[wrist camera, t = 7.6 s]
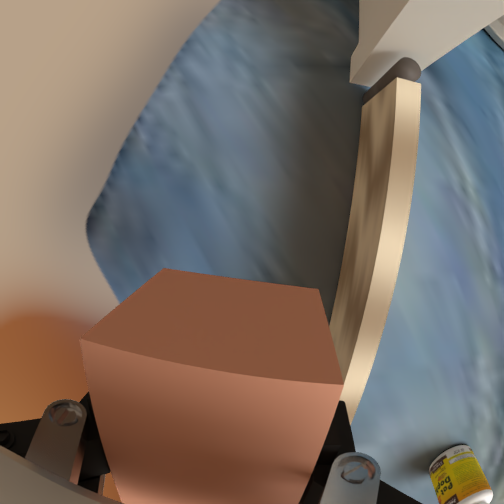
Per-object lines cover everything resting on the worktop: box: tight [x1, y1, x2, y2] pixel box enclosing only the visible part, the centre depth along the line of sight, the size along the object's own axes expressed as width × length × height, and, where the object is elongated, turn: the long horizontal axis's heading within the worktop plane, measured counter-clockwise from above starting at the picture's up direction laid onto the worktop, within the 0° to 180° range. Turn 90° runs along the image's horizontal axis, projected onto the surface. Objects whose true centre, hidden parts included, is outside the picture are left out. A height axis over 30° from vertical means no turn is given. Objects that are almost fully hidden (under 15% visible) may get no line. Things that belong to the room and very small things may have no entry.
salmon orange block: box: [80, 268, 344, 504], centre depth 9 cm, size 8×5×5 cm, turn 174°
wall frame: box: [350, 0, 504, 87], centre depth 14 cm, size 40×3×14 cm, turn 174°
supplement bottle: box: [429, 445, 493, 504], centre depth 20 cm, size 6×6×10 cm
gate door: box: [329, 57, 421, 425], centre depth 17 cm, size 24×1×7 cm, turn 174°
